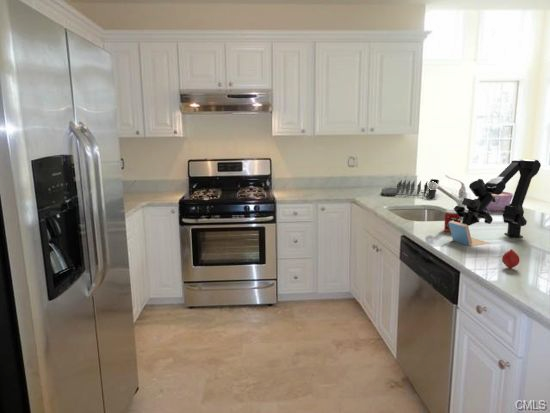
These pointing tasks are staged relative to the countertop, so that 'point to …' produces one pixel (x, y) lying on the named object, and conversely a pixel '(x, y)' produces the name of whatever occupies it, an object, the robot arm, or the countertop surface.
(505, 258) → the onion
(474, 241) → the mat
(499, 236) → the countertop surface
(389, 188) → the dish rack
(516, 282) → the countertop surface
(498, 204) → the bowl of food
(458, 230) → the tile
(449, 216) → the canned food
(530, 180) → the robot arm
